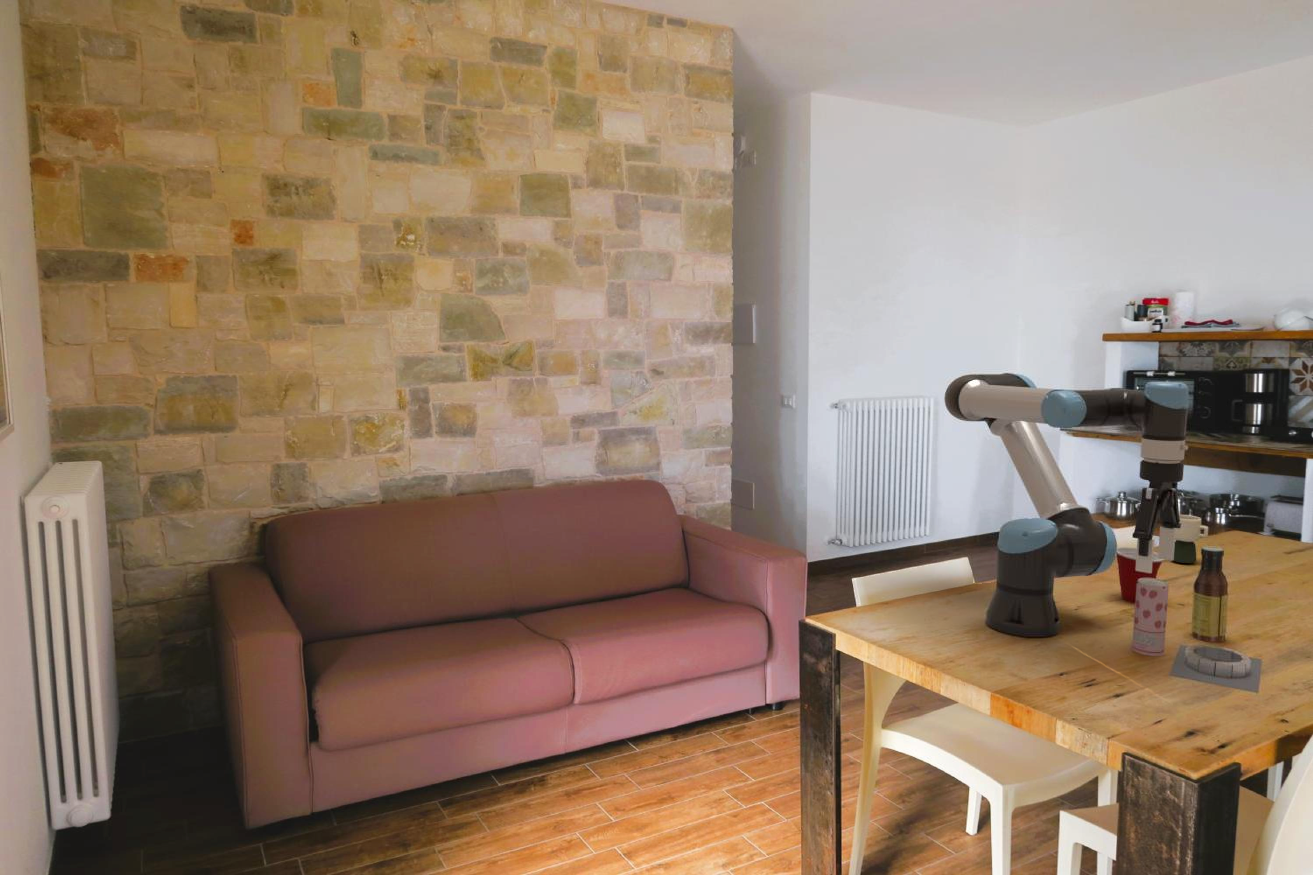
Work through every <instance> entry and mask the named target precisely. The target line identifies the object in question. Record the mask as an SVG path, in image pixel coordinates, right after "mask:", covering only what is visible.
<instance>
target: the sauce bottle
mask: <svg viewBox="0 0 1313 875" xmlns="http://www.w3.org/2000/svg"><path fill="white" fill-rule="evenodd" d="M1200 554H1201V564H1200V569H1199V570H1198V574H1197V577H1196V579H1195V581H1194V582H1193V586H1192V589H1193V590H1192V611H1191V612H1192V614H1191V632H1192V633H1191V635H1192V637H1193V638H1195V639H1197V640H1200V641H1203V642H1210V643H1222V642H1225V641H1226V634H1227V624H1228V623H1227V621H1228V620H1227V618H1228V601H1229V600H1228V599H1229V596H1228V595H1229V593H1228V588H1229V587H1228V586H1229V584H1228V580H1227V577H1226V575H1225V574H1224V572H1223V557H1224V555H1225V551H1224V548H1221V547H1219V546H1210V545H1209V546H1207V545H1205V546H1202V547H1201V548H1200Z"/></svg>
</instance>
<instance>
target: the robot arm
mask: <svg viewBox="0 0 1313 875" xmlns="http://www.w3.org/2000/svg"><path fill="white" fill-rule="evenodd" d="M1144 387H1145V388H1144V390H1140V389H1139V390H1138V389H1130V388H1129V389H1128V388H1127V389H1126V388H1123V387H1107V388H1103V389H1091V390H1090V389H1089V390H1088V389H1087V390H1086V389H1080V390H1079V389H1076V390H1075V389H1056V388H1044V387H1043V388H1041V387H1037V386H1036V384H1035V383H1034V381H1032V379H1030V378H1029V377H1027V376H1026V375H1023V374H1019V373H1011V372H1003V373H998V374H997V373H994V374H993V373H991V374H989V373H982V374H981V373H980V374H977V373H975V374H973V373H972V374H965V375H964V374H963V375H962V376H959V377H957V378H955V379H954V380H953V381H951V383H950V384H948V386H947V387H946V389H945V393H944V404H945V407H946V410H947V411H948V413H949V414H950V415H951V416H953V417H954V418H956V419H957V420H959V421H960V420H961V421H964V422H985V423H986V425H987V427H988V429H989V431H990V432H991V434H992V435H994V436H997V437H1000V439H1001V440H1002V442H1003V443H1002V444H1003V445H1004V447H1005V449H1006V451H1007V453H1008V455H1009V457H1010V459H1011V462H1012V463H1013V465H1014V467H1015V469H1016V472H1017V473H1018V475H1019V478H1020V480H1021V482H1022V485H1023V486H1024V488H1025V490H1026V492H1027V494H1028V496H1029V498H1030V500H1031V502H1032V504H1033V506H1034V508H1035V511H1036V512H1037V515H1038V516H1039V517H1033V518H1028V517H1027V518H1026V517H1025V518H1024V517H1023V518H1018V519H1017V518H1016V519H1014V520H1012V519H1011V520H1010V521H1007V522H1004V524H1002V526H1001V527H1000V528H999V533H998V539H997V543H996V544H997V566H996V582H995V584H996V586H995V591H994V592H993V595H992V598H991V600H990V602H989V605H988V608H987V610H986V613H985V623H986V625H987V626H988V627H990V628H991V629H993V630H995V631H998V632H1001V633H1004V634H1008V635H1013V636H1018V637H1025V638H1046V637H1052V636H1056V635H1058V634H1059V633H1060V631H1061V619H1060V616H1059V612H1058V608H1057V605H1056V601H1055V597H1054V585H1055V579H1060V578H1069V577H1082V576H1084V577H1089V576H1093V575H1096V574H1102V573H1104V572H1105V571H1107V570H1108V569H1110V568H1111V566H1113V564H1114V562H1115V559H1116V552H1117V547H1118V543H1117V537H1116V534H1115V532H1114V530H1113V529H1112V527H1110V525H1109V524H1107V523H1104V522H1103V521H1100V520H1095V519H1094V517H1093V515H1092V514H1091V512H1090V509H1089V508H1088V507H1087V506H1082V505H1079V504H1078V503H1077V500H1076V498H1075V497H1074V496H1075V495H1073V493H1072V491H1071V488H1070V487H1069V485H1068V483H1067V480H1066V479H1065V477H1064V475H1063V473H1062V471H1061V469H1060V467H1059V465H1058V464H1057V462H1056V460H1055V458H1054V455H1053V454H1052V452H1051V450H1050V448H1049V446H1048V444H1047V442H1046V440H1045V438H1044V437H1043V435H1042V432H1041V430H1040V429H1039V427H1038V424H1043V425H1048V426H1049V427H1052V428H1055V429H1056V428H1059V429H1072V428H1087V427H1088V428H1089V427H1116V426H1117V427H1118V426H1119V427H1120V426H1121V427H1122V426H1123V427H1134V428H1140V429H1142V431H1141V432H1142V433H1141V434H1142V435H1141V445H1140V457H1141V459H1142V460H1141V461H1140V463H1139V475H1138V476H1139V478H1140V479H1141V480H1144V481H1148V487H1142V490H1141V500H1140V503H1139V509H1138V514H1137V517H1136V522H1135V526H1134V531H1133V533H1132V538H1134V539H1137V544H1136V548H1137V555H1136V570H1135V571H1140V572H1146V573H1152V562H1153V552H1154V547H1155V546H1154V545H1155V544H1154V543H1155V540H1154V539H1153V538H1154V537H1153V536H1154V534H1155V530H1156V527H1157V523H1158V520H1159V518H1160V522H1161V525H1162V526H1160V527H1159V537H1158V538H1159V539H1158V551H1157V553H1158V558H1159V559H1165V560H1166V561H1174V547H1175V541H1176V540H1175V532H1176V529H1174V528H1179V529H1180V528H1181V523H1179V522H1180V517H1179V515H1180V509H1179V496H1178V495H1179V494H1178V486H1179V484H1178V483H1181V482H1182V481H1183V479H1184V470H1185V468H1184V467H1185V464H1184V463H1183V462H1182V461H1183V460H1184V459H1185V453H1186V452H1185V451H1188V449H1189V446H1188V445H1186V438H1187V437H1186V435H1187V434H1186V433H1187V423H1188V415H1189V414H1188V412H1189V406H1190V403H1189V402H1190V400H1189V387H1188V385H1187V384H1185V383H1183V382H1177V381H1176V382H1175V381H1149V382H1147V383H1146V384H1145V386H1144ZM1164 526H1165V527H1164ZM1165 560H1164V561H1165Z"/></svg>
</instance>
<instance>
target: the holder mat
mask: <svg viewBox="0 0 1313 875" xmlns="http://www.w3.org/2000/svg"><path fill="white" fill-rule="evenodd" d="M1188 647H1189V645H1186V644H1185V645H1183V644H1180V645H1179V647H1178V651H1177V653H1176V656H1175V658H1174V660H1173V664H1172V667H1171V669H1170V672H1169V676H1171V677H1176V678H1180V679H1185V680H1191V681H1196V682H1201V683H1205V684H1210V685H1211V684H1212V685H1215V686H1221V687H1224V688H1225V687H1226V688H1231V689H1237V690H1241V691H1246V692H1250V693H1251V692H1252V693H1256V694H1258V693H1259V689H1260V680H1261V670H1262V664H1263V659H1262V658H1257V657H1251V656H1248V657H1249V659H1250V660H1251V665H1250V674H1248V675H1247V676H1245V677H1237V678H1229V677H1220V676H1215V675H1214V676H1213V675H1210V674H1206V673H1202V672H1199V671H1196V670H1194V669H1192V668H1190V667H1188V666H1187V665H1186V663H1185V649H1186V648H1188ZM1214 661H1218V660H1214ZM1220 662H1222V661H1220Z"/></svg>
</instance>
